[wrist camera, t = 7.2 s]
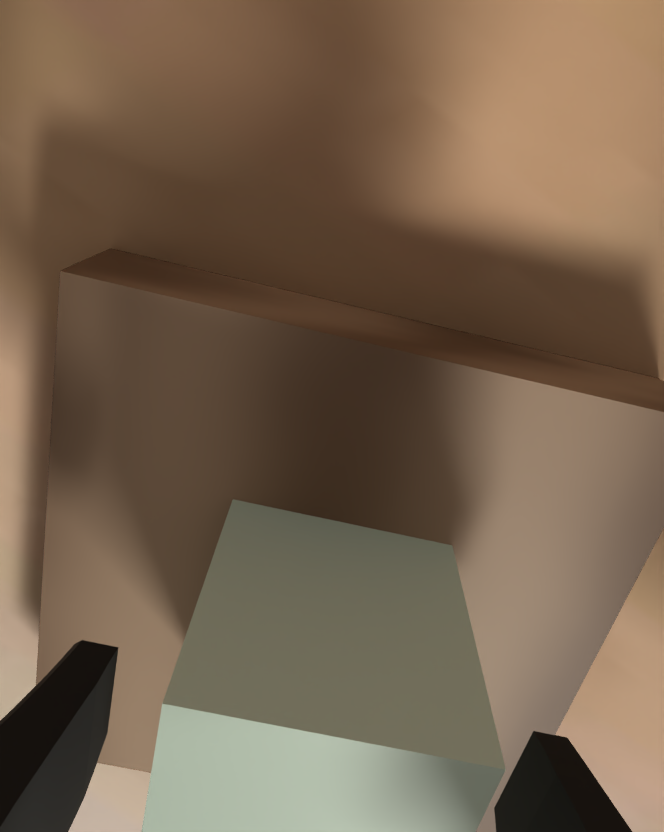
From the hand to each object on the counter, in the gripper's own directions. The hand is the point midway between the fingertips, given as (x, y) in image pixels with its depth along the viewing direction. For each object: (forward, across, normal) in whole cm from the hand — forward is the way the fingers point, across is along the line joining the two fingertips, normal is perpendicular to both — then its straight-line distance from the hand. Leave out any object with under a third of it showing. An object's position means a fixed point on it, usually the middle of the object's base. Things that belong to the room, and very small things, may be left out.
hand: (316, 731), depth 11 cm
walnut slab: (+6, 0, 0) cm, 6 cm away
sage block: (+3, 0, 0) cm, 3 cm away
